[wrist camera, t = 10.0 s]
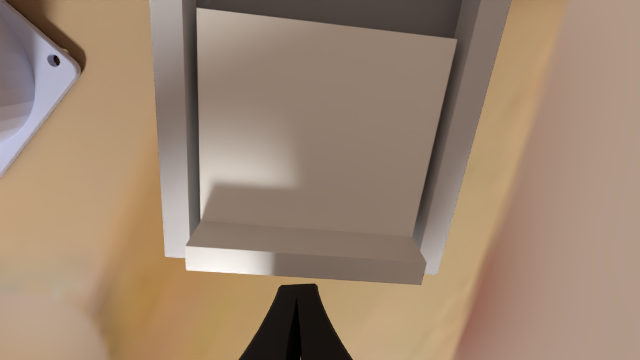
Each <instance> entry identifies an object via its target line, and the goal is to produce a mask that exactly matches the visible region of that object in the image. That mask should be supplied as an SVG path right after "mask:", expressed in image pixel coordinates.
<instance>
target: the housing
mask: <svg viewBox="0 0 640 360" xmlns="http://www.w3.org/2000/svg"><path fill="white" fill-rule="evenodd" d="M510 4H511V0H149V5H150V21H151V37H152V53H153V69H154V85H155V101H156V117H157V133H158V149H159V165H160V180H161V196H162V212H163V228H164V244H165V257H178V258H186V255H185V246H186V244H187V242H188V241H189V239H190V237H191V236H192V234H193V233H194V231H195V229H196V228H197V226H198V225H199V223H200V221H201V215H200V163H199V111H198V58H197V8H203V9H211V10H219V11H227V12H236V13H244V14H252V15H260V16H269V17H277V18H285V19H294V20H302V21H310V22H318V23H327V24H335V25H343V26H352V27H360V28H368V29H376V30H385V31H393V32H401V33H410V34H418V35H426V36H434V37H443V38H451V39H457V44H456V48H455V52H454V57H453V61H452V65H451V70H450V74H449V78H448V83H447V87H446V91H445V96H444V100H443V104H442V109H441V113H440V117H439V122H438V126H437V131H436V135H435V139H434V144H433V148H432V152H431V157H430V161H429V165H428V170H427V174H426V178H425V183H424V187H423V191H422V196H421V200H420V204H419V209H418V213H417V217H416V222H415V226H414V230H413V235H412V238H413V239H414V241H415V243H416V245H417V246H418V248H419V250H420V252H421V253H422V255H423V257H424V259H425V260H426V262H427V264H426V268H425V272H424V274H434V275H437V273H438V269H439V265H440V262H441V258H442V254H443V251H444V247H445V243H446V240H447V236H448V232H449V229H450V225H451V221H452V218H453V214H454V210H455V206H456V203H457V199H458V195H459V192H460V188H461V184H462V181H463V177H464V173H465V170H466V166H467V162H468V159H469V155H470V151H471V148H472V144H473V140H474V137H475V133H476V129H477V126H478V122H479V118H480V114H481V111H482V107H483V103H484V100H485V96H486V92H487V89H488V85H489V81H490V78H491V74H492V70H493V67H494V63H495V59H496V56H497V52H498V48H499V45H500V41H501V37H502V34H503V30H504V26H505V23H506V19H507V15H508V11H509V8H510Z"/></svg>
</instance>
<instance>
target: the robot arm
mask: <svg viewBox="0 0 640 360" xmlns="http://www.w3.org/2000/svg"><path fill="white" fill-rule="evenodd" d="M54 55H56V56H57V57H58V58H59V59H60V64H59V66H58V65H56V63H55V62H54V59H53V58H54ZM80 74H81V69H80V66H79V64H78V63H77V62H76V61H75V60H74V59H73V58H72V57H71V56H69V55H68V54H67V53H66V52H65V51H64V50H62V49H61V48H60V47H59V46H58V45H57V44H55V43H54V42H53V41H52V40H51V39H49V38H48V37H47V36H46V35H45V34H44V33H42V32H41V31H40V30H39V29H38V28H37V27H35V26H34V25H33V24H32V23H31V22H30V21H28V20H27V19H26V18H25V17H24V16H22V15H21V14H20V13H19V12H18V11H17V10H15V9H14V8H13V7H12V6H11V5H10V4H8V3H7V2H6V1H5V0H0V178H1V177H2V176H3V174H4V173H5V172H6V171H7V169H8V168H9V167H10V165H11V164H12V163H13V162H14V160H15V159H16V158H17V156H18V155H19V154H20V153H21V151H22V150H23V149H24V147H25V146H26V145H27V144H28V142H29V141H30V140H31V138H32V137H33V136H34V135H35V133H36V132H37V131H38V129H39V128H40V127H41V126H42V124H43V123H44V122H45V120H46V119H47V118H48V117H49V115H50V114H51V113H52V111H53V110H54V109H55V108H56V106H57V105H58V104H59V102H60V101H61V100H62V99H63V97H64V96H65V95H66V93H67V92H68V91H69V90H70V88H71V87H72V86H73V84H74V83H75V82H76V81H77V79H78V78H79V76H80ZM300 357H301V360H353V359H352V358H351V356H350V355H349V353H348V352H347V350H346V349H345V347H344V345H343V344H342V342H341V340H340V339H339V337H338V335H337V333H336V332H335V330H334V328H333V326H332V324H331V322H330V320H329V318H328V316H327V314H326V311H325V309H324V307H323V304H322V302H321V299H320V296H319V292H318V286H317V285H316V284H295V285H281V286H280V287H279V288H278V291H277V294H276V296H275V299H274V301H273V303H272V305H271V307H270V309H269V311H268V313H267V315H266V317H265V319H264V321H263V322H262V324H261V326H260V328H259V330H258V331H257V333H256V334H255V336H254V338H253V339H252V341H251V342H250V344H249V345H248V347H247V348H246V350H245V351H244V353H243V354H242V356H241V357H240V358H239V360H300Z"/></svg>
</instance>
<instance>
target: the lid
mask: <svg viewBox="0 0 640 360" xmlns="http://www.w3.org/2000/svg"><path fill="white" fill-rule="evenodd" d="M456 44H457V39H451V38H443V37H434V36H426V35H418V34H410V33H401V32H393V31H385V30H376V29H368V28H360V27H352V26H343V25H335V24H327V23H318V22H310V21H302V20H294V19H285V18H277V17H269V16H260V15H252V14H244V13H236V12H227V11H219V10H211V9H203V8H197V58H198V111H199V163H200V215H201V221H200V223H199V225H198V226H197V228H196V229H195V231H194V233H193V234H192V236H191V237H190V239H189V241H188V242H187V244H186V246H185V255H186V270H194V271H210V272H225V273H241V274H257V275H273V276H288V277H304V278H320V279H336V280H351V281H367V282H383V283H398V284H414V285H421V284H422V280H423V276H424V272H425V268H426V264H427V262H426V260H425V259H424V257H423V255H422V253H421V252H420V250H419V248H418V246H417V245H416V243H415V241H414V239H413V238H412V235H413V230H414V226H415V222H416V217H417V213H418V209H419V204H420V200H421V196H422V191H423V187H424V183H425V178H426V174H427V170H428V165H429V161H430V157H431V152H432V148H433V144H434V139H435V135H436V131H437V126H438V122H439V117H440V113H441V109H442V104H443V100H444V96H445V91H446V87H447V83H448V78H449V74H450V70H451V65H452V61H453V57H454V52H455V48H456Z"/></svg>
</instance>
